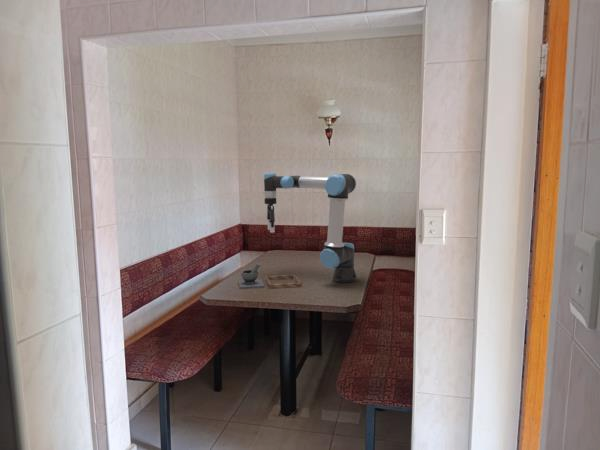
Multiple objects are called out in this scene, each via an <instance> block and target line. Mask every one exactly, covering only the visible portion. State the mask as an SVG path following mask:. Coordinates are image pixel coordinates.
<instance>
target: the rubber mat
mask: <svg viewBox="0 0 600 450" xmlns="http://www.w3.org/2000/svg"><path fill="white" fill-rule="evenodd" d="M238 288H239V289H240V290H242V289H243V290H246V289H260V288H261V289H262V288H263V289H264V288H265V284H264V282H263V279H259V278H257V279H256V280H255V284H245V280H244V279H242V280H238Z"/></svg>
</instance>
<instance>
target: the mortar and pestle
mask: <svg viewBox="0 0 600 450" xmlns="http://www.w3.org/2000/svg"><path fill="white" fill-rule="evenodd" d="M260 267H261V264H260V263H257V262H256V263H255V265H254V267H253V268H252V269H246V270H242V271H241V273H240V274H241V278H242V280H245V284H255V280H258V276H259V271H258V270H259V268H260Z"/></svg>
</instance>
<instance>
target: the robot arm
mask: <svg viewBox="0 0 600 450" xmlns="http://www.w3.org/2000/svg"><path fill="white" fill-rule="evenodd" d="M263 183H264V184H263V185H264V187H263V188H264V190H263V195H264V204H265V205H267V207H266V209H267V212H266V213H267V216H266V219H267V231H269V233H270V234H271V233H275V228H276V227H275V221H276V219H275V218H276V217H275V206H274V205H276V204H277V189H285V190H287V189H295V188H297V189H318V190H319V189H321V190H325V191H326V193H327V198H328V200H329V212H328V213H329V214H328V223H327V227H328V228H327V236H326V237H327V239H326V241H325V242H324V246H323V250H322V251H321V252H320V254H319V259H320V262H321V264H322V265H323V266H324V267H325V268H327V269H334V270H333V272H332V274H331V275H332V276H331V280H332V281H333V282H335V283H344V284H345V283H346V284H347V283H348V282H350V283H355V282H356V281H358V276H357V273H356V270H355V245H354V243H350V242H343V231H344V220H345V209H346V208H345V207H346V201H347V200H348V199H349V195H350V194H351V193H353V192H354V191H355V189H356V187H357V181H356V179H355V177H354V176H353V175H352V174H349V173H334V174H332V175H329V176H318V175H316V176H314V175H277V174H276V173H275V172H265V173H264V177H263ZM354 281H355V282H354Z"/></svg>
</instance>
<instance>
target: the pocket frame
mask: <svg viewBox="0 0 600 450" xmlns="http://www.w3.org/2000/svg"><path fill="white" fill-rule="evenodd" d="M292 279H293V280H294V282H291V283H273V284H272V283H271V281H272V280H274V281H276V280H292ZM264 281H265V283H266V285H267V287H268V289H269V290H270V289H284V288H285V289H286V288H301V287H302V286H303V285H302V282H301V280H300V279H299V277H298V276H297V275H296V274H286V275H266V276H264Z"/></svg>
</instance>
